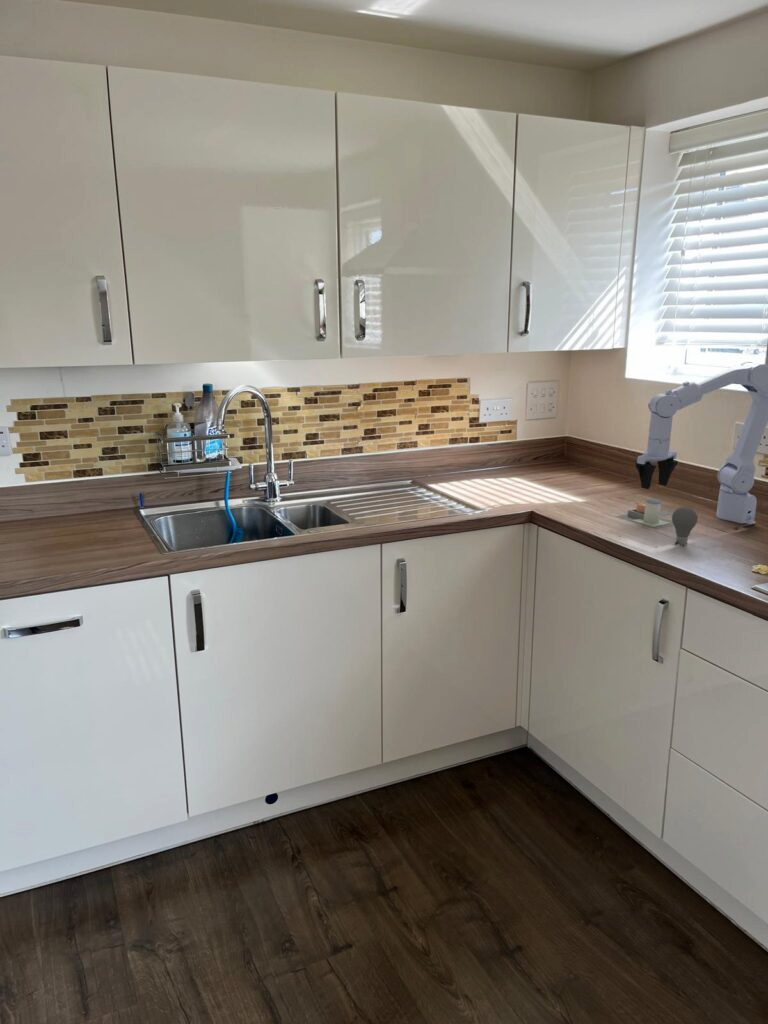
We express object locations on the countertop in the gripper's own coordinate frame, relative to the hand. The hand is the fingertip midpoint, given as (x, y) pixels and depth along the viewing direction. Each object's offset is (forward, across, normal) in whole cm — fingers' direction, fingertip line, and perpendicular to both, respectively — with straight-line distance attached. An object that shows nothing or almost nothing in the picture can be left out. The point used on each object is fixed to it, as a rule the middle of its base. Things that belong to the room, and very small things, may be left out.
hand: (654, 486), depth 212 cm
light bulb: (+10, +12, +19) cm, 25 cm away
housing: (+10, 0, +2) cm, 10 cm away
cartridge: (+8, +5, +4) cm, 11 cm away
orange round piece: (+8, +2, -1) cm, 8 cm away
